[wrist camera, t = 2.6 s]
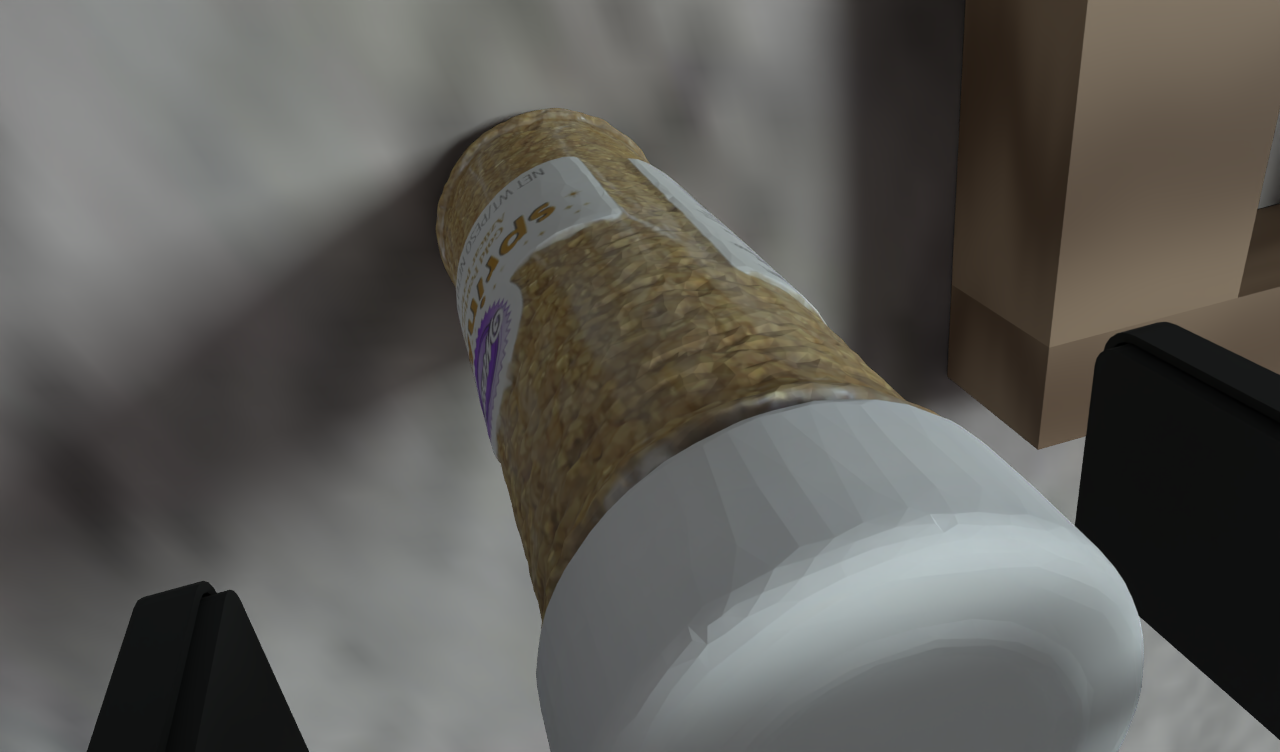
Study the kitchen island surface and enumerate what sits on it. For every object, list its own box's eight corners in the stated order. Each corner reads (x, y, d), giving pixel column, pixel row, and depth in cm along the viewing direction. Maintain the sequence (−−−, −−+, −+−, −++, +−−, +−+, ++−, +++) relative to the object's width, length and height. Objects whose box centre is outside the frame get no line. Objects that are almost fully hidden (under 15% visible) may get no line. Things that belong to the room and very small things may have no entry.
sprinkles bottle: (413, 122, 16) (539, 646, 5) (655, 90, 17) (1244, 468, 6) (456, 346, 19) (613, 1072, 7) (668, 308, 19) (1114, 895, 8)
